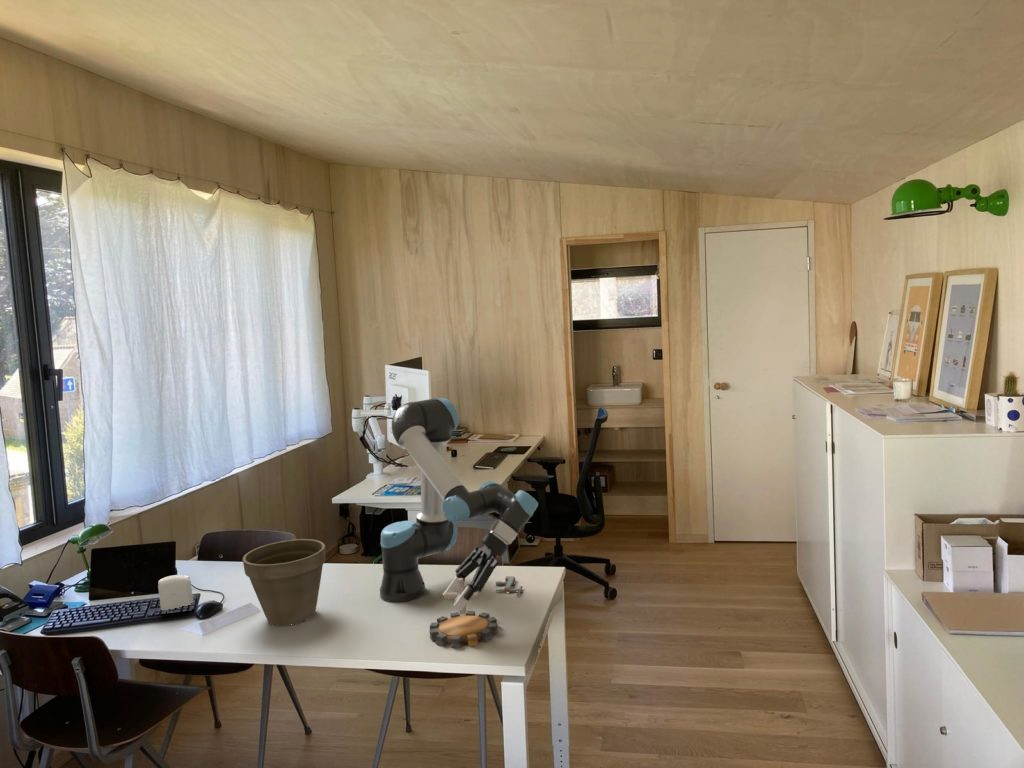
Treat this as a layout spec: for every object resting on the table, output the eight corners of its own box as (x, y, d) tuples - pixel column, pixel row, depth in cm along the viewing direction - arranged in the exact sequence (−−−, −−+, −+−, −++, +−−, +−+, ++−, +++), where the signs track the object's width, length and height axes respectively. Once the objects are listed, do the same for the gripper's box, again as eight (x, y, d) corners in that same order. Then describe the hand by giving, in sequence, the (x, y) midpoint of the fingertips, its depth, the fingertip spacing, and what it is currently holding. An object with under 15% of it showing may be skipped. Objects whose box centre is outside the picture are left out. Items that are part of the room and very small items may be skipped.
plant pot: (246, 639, 228) (239, 568, 226) (251, 609, 251) (245, 545, 249) (332, 625, 234) (326, 556, 232) (329, 597, 258) (323, 534, 256)
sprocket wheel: (416, 637, 221) (415, 629, 221) (463, 614, 236) (462, 606, 236) (464, 653, 209) (464, 644, 208) (511, 628, 223) (511, 620, 223)
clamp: (497, 575, 264) (526, 575, 262) (498, 582, 264) (526, 582, 262) (489, 592, 249) (520, 592, 247) (490, 598, 249) (520, 598, 247)
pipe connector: (475, 619, 216) (472, 585, 215) (441, 619, 218) (438, 585, 217) (484, 606, 225) (481, 573, 225) (451, 606, 228) (448, 573, 227)
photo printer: (159, 616, 251) (155, 579, 250) (163, 611, 255) (159, 575, 254) (192, 612, 253) (188, 576, 251) (195, 607, 257) (191, 571, 256)
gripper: (522, 555, 216) (474, 622, 211) (493, 536, 236) (448, 597, 231) (504, 540, 214) (454, 607, 209) (476, 522, 233) (430, 584, 229)
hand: (451, 602), depth 220 cm, fingers closed on pipe connector, 9 cm apart
